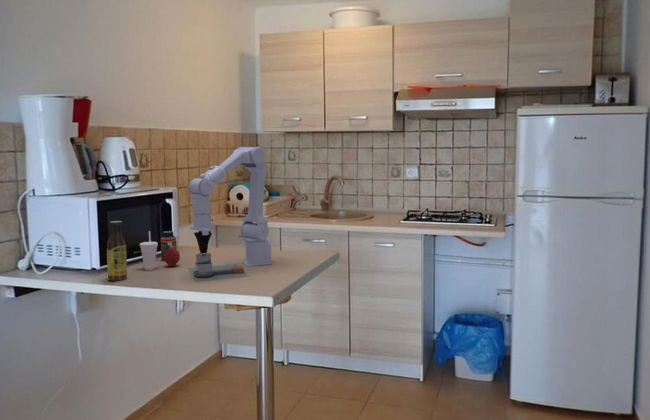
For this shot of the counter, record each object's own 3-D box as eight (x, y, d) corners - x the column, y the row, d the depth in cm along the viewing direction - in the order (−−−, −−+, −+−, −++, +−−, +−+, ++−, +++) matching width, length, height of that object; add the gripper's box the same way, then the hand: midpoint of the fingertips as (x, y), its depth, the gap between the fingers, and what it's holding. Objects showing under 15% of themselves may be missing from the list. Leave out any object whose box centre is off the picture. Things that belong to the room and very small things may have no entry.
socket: (209, 268, 199) (209, 252, 198) (212, 271, 194) (212, 254, 193) (195, 270, 197) (194, 253, 196) (198, 273, 192) (197, 256, 191)
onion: (175, 268, 208) (174, 247, 207) (161, 268, 209) (160, 246, 208) (182, 265, 214) (182, 244, 213) (168, 264, 215) (167, 244, 214)
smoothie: (162, 268, 208) (160, 231, 206) (146, 272, 203) (144, 233, 201) (153, 266, 212) (151, 229, 210) (137, 269, 208) (135, 231, 206)
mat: (236, 264, 214) (236, 263, 214) (248, 277, 194) (248, 276, 194) (187, 268, 208) (187, 267, 208) (195, 282, 188) (195, 281, 188)
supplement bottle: (174, 261, 220) (173, 232, 219) (159, 261, 221) (158, 232, 219) (178, 258, 226) (177, 230, 225) (164, 258, 226) (162, 230, 225)
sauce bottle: (116, 282, 188) (112, 223, 186) (103, 280, 192) (100, 222, 189) (132, 278, 194) (128, 220, 191) (120, 276, 197) (116, 219, 195)
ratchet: (195, 279, 191) (194, 267, 191) (192, 274, 198) (192, 263, 197) (245, 274, 197) (245, 263, 196) (241, 270, 203) (240, 259, 203)
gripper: (187, 211, 198) (189, 249, 200) (192, 216, 185) (194, 257, 187) (207, 210, 201) (209, 248, 202) (214, 215, 187) (215, 256, 189)
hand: (203, 252), depth 195 cm, fingers closed
